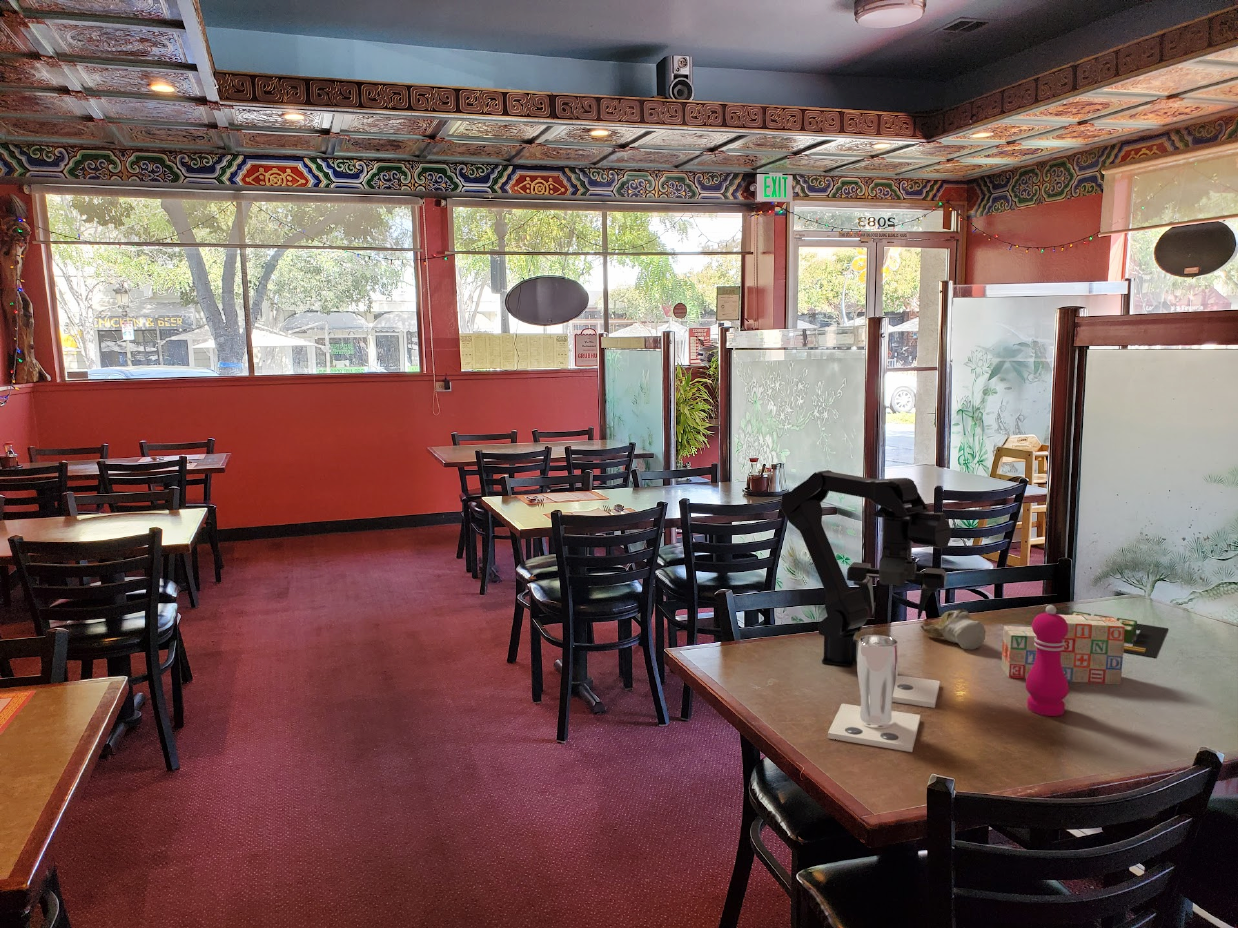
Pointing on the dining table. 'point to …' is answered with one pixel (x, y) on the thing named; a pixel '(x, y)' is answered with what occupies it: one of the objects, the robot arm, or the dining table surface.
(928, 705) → the one-dot tile
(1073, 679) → the stack of blocks
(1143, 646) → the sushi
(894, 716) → the two-dot tile
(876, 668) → the beer glass
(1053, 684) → the pepper mill
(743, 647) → the dining table surface
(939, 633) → the ceramic sculpture
